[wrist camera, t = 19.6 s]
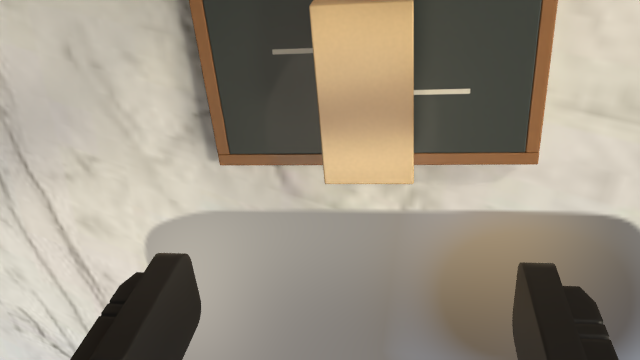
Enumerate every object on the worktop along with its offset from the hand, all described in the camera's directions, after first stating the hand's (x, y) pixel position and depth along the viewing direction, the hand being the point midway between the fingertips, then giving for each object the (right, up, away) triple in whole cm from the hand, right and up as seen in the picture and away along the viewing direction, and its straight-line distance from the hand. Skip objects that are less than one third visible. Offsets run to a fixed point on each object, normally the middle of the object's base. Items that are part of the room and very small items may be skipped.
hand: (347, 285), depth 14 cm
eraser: (+2, +9, +19) cm, 21 cm away
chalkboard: (+2, +9, +20) cm, 22 cm away
